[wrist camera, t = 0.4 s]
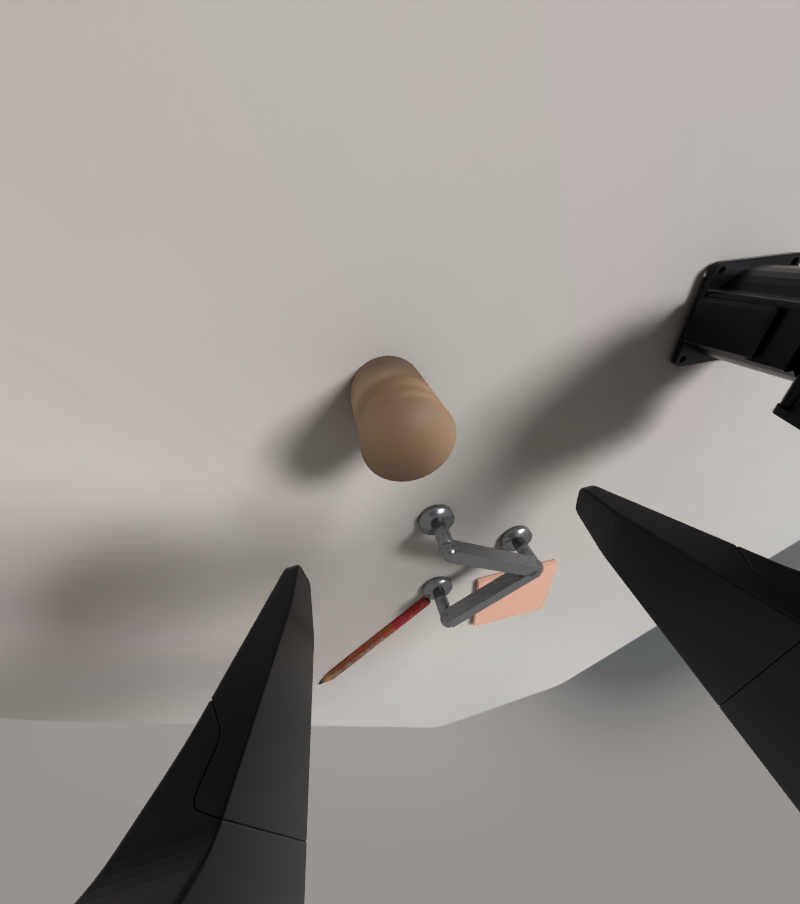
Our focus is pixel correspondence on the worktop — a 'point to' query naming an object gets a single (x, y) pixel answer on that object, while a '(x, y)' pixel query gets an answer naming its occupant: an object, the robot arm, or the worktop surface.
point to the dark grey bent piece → (515, 565)
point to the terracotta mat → (517, 597)
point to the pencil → (377, 639)
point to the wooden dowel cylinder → (399, 420)
